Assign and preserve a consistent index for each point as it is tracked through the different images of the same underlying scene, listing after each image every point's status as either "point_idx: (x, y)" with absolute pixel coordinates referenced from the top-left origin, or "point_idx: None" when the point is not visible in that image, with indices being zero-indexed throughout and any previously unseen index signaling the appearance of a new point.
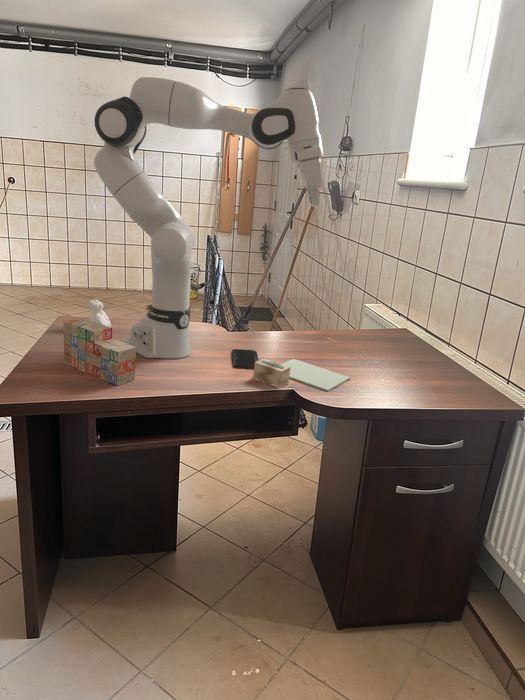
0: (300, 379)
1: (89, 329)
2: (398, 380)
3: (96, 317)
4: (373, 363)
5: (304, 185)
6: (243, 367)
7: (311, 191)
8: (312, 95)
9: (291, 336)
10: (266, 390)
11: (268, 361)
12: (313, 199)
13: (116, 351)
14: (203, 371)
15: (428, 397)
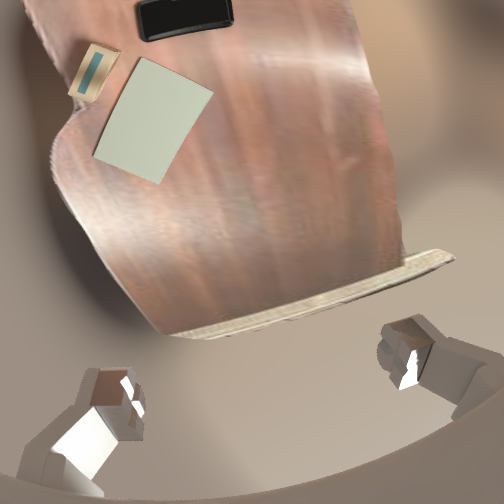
0: (114, 113)
1: None
2: (184, 244)
3: None
4: (245, 217)
5: (435, 462)
6: (138, 18)
7: (25, 463)
8: None
9: (351, 96)
10: (61, 75)
11: (103, 62)
12: (78, 410)
13: None
14: None
15: (141, 270)
